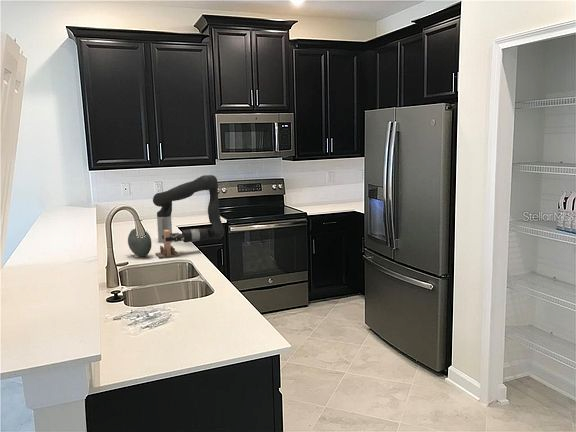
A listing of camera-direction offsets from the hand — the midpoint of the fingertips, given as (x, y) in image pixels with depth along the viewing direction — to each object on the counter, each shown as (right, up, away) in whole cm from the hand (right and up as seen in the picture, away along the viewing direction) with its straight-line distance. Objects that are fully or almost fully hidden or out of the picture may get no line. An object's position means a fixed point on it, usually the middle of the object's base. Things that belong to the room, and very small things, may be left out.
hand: (163, 238), depth 284 cm
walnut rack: (+2, -10, +2) cm, 11 cm away
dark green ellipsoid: (-14, -11, +1) cm, 18 cm away
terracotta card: (+2, -9, +2) cm, 10 cm away
